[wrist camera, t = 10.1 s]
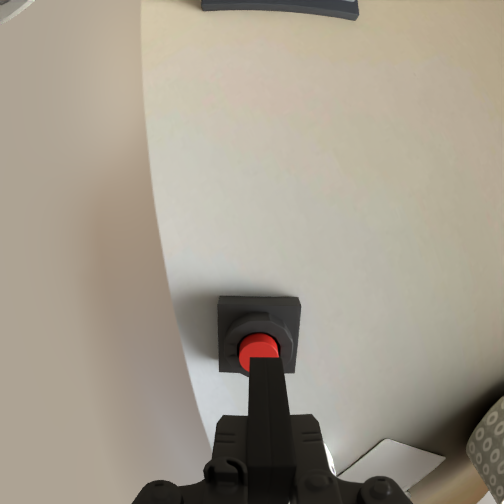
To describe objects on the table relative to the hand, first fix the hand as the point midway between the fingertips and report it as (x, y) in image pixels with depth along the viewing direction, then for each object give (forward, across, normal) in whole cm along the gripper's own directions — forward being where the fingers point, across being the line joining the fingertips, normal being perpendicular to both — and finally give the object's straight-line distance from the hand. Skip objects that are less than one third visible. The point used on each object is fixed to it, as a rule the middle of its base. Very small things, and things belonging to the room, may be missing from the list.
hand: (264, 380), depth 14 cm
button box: (+17, 0, -6) cm, 18 cm away
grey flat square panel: (+18, +23, -42) cm, 51 cm away
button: (+14, 0, -6) cm, 15 cm away
